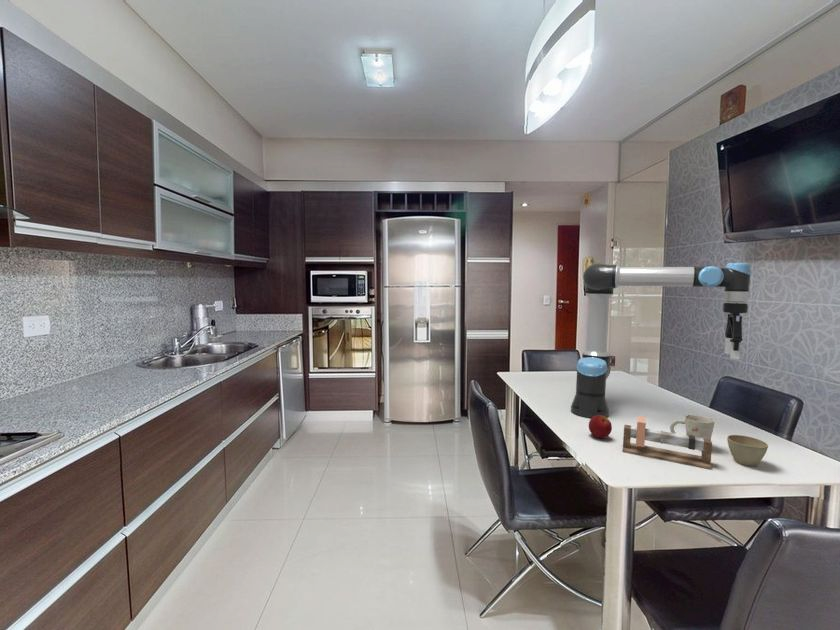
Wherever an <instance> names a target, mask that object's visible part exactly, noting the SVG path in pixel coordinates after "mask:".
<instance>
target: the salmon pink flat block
mask: <svg viewBox="0 0 840 630" xmlns="http://www.w3.org/2000/svg"><path fill="white" fill-rule="evenodd" d="M636 421H637V423H636V427H637V435H636V438H635V444H636V446H640V447H644V445H645V444H646V443H645V441H646V440H645V428H646V426H647V425H646V423H647V418H646V417H645V416H639V415H638V416H637V420H636Z"/></svg>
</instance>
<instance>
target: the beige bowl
mask: <svg viewBox="0 0 840 630" xmlns="http://www.w3.org/2000/svg"><path fill="white" fill-rule="evenodd" d="M726 438H727V439H726V440H727V441H726V442H727V445H728V449H729V452H730V454H731V455H732V458H733V459H734V461H735V462H736V463H738V464H739V465H744V466H746V467H747V466H748V467H754V466H755V467H756V466H757V465H758V464H759V463H760V462H761V461H762V460H763V459H764V457H765V455H766V453H767V452H768V448H769V444H768V443H767V442H766V441H764V440H762V439H759V438H757V437H752V436H749V435H748V436H747V435H742V434H728V435H727V437H726Z"/></svg>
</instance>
